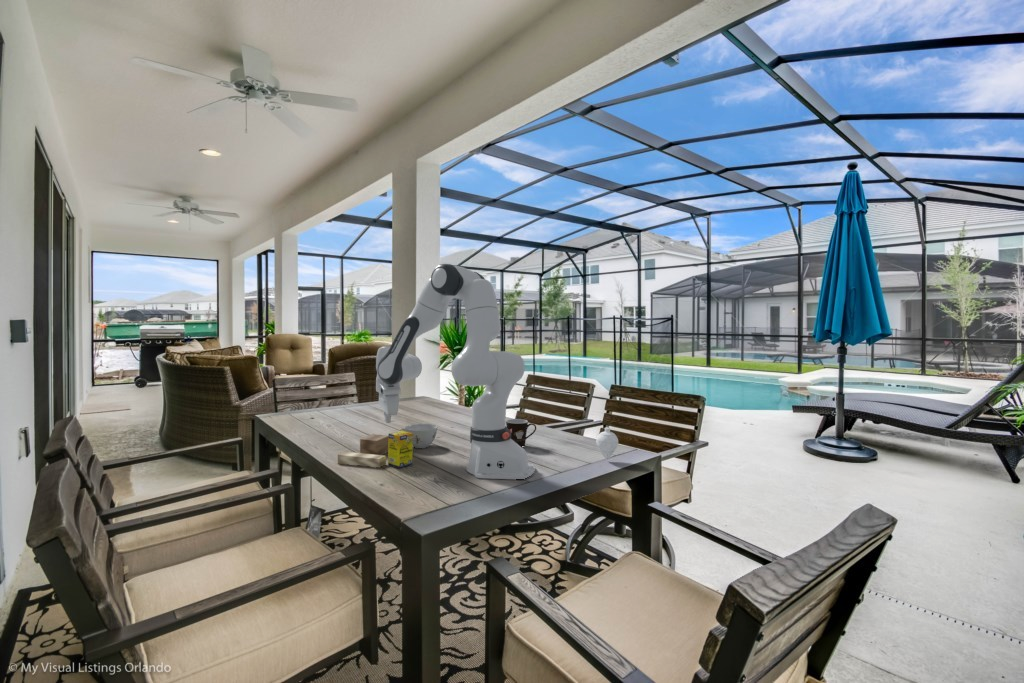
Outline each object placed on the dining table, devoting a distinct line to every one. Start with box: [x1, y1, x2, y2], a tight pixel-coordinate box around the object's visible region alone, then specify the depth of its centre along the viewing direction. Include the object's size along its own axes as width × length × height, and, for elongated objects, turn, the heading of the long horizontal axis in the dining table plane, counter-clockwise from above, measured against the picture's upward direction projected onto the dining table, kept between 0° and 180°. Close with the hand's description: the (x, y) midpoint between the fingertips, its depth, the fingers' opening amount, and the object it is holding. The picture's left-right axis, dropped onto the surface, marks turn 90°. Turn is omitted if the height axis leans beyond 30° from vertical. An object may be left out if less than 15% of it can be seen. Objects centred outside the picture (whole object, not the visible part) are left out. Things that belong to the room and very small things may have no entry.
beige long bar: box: [337, 451, 387, 468], centre depth 159 cm, size 16×4×3 cm, turn 75°
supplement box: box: [387, 430, 414, 469], centre depth 158 cm, size 6×6×11 cm
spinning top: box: [595, 427, 619, 460], centre depth 164 cm, size 8×8×12 cm
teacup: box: [399, 423, 439, 449], centre depth 182 cm, size 15×12×8 cm
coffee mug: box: [505, 418, 537, 447], centre depth 183 cm, size 12×9×10 cm
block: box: [359, 433, 388, 455], centre depth 172 cm, size 7×8×6 cm
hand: (387, 422), depth 181 cm, fingers closed
